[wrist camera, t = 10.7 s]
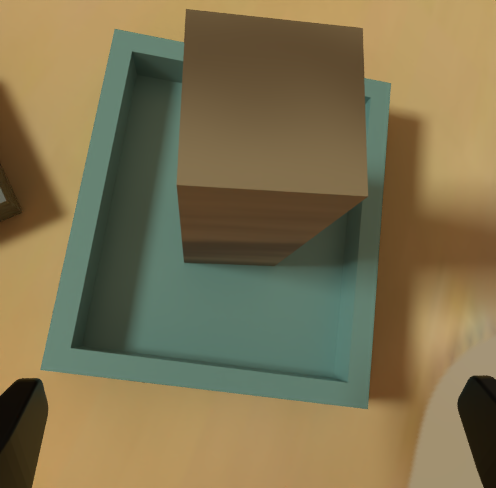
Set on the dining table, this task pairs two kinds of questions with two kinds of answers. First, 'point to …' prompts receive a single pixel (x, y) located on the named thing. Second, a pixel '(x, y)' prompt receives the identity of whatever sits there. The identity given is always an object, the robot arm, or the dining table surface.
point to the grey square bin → (7, 198)
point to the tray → (206, 275)
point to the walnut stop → (267, 135)
